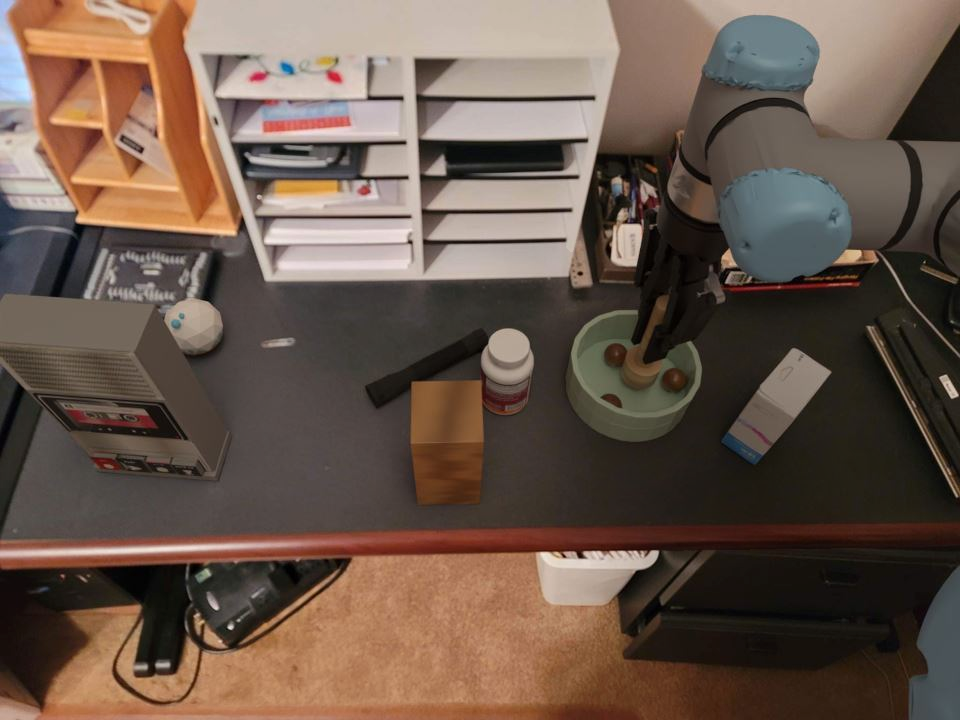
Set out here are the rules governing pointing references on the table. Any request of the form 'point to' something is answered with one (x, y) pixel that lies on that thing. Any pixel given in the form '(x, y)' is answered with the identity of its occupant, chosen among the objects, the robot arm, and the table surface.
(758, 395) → the ink box
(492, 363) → the pill bottle
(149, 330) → the cassette tape recorder
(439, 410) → the block
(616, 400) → the hazelnut
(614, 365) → the hazelnut
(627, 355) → the pestle
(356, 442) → the table surface
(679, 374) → the hazelnut
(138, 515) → the table surface
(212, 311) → the ornament
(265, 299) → the table surface
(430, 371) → the flashlight
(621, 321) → the bowl
